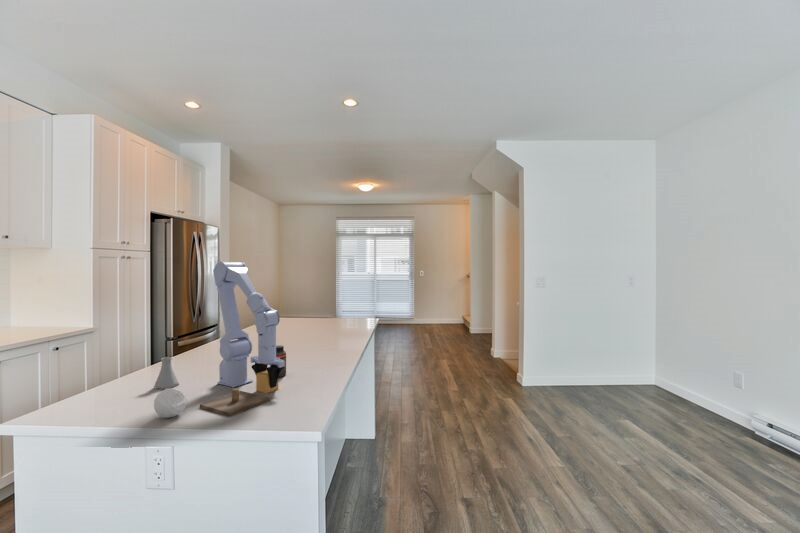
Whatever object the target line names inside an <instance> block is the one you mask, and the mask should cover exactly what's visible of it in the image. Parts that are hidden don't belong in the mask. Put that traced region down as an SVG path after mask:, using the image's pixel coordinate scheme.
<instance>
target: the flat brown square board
mask: <svg viewBox="0 0 800 533" xmlns="http://www.w3.org/2000/svg"><path fill="white" fill-rule="evenodd" d="M270 400H271V399H270V397H268V396H264V395H259V394H257V393H251V392H248V391H247V392H246V391H242V390H240V388H237V387H234V388H232V389H231V393H229V394H226V395H223V396H220V397H217V398H214V399H211V400H208V401H205V402H202V403H200V404H199V408H200V409H203V410H206V411H209V412H213V413H217V414H221V415H224V416H228V417H232V416H236V415H237V414H240V413H242V412H243V413H244V412H245V411H248V410H250V409H253V408H255V407H257V406H260V405H263V404H265V403H268V402H270Z"/></svg>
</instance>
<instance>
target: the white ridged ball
mask: <svg viewBox="0 0 800 533" xmlns="http://www.w3.org/2000/svg"><path fill="white" fill-rule="evenodd" d="M187 403H188V398H187V396H186V395H185V394H184V393H183V392H182V391H180V390H178V389H175V388H173V387H171V388H166V389H163V390H161V391H160V392H159V393H158V394H157V395H156V396H155V398H154V400H153V408H154V411H155V412H156V413H155V414H157V415H158V416H159V417H161V418H166V419H167V418H174V417H177V416H178V415H179V414H181V413H182V412H183V411H184V410H185V408H186V406H187Z"/></svg>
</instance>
